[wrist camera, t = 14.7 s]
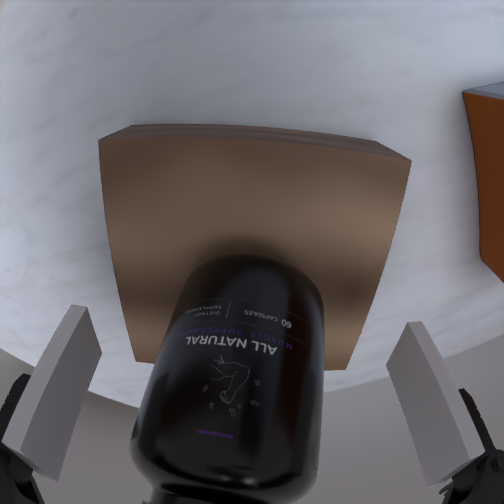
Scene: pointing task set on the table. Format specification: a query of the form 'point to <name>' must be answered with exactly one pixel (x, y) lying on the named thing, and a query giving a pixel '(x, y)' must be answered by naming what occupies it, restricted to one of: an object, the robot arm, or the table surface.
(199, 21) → the table surface
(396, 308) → the table surface
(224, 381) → the supplement bottle
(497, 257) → the alarm clock
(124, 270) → the walnut block
